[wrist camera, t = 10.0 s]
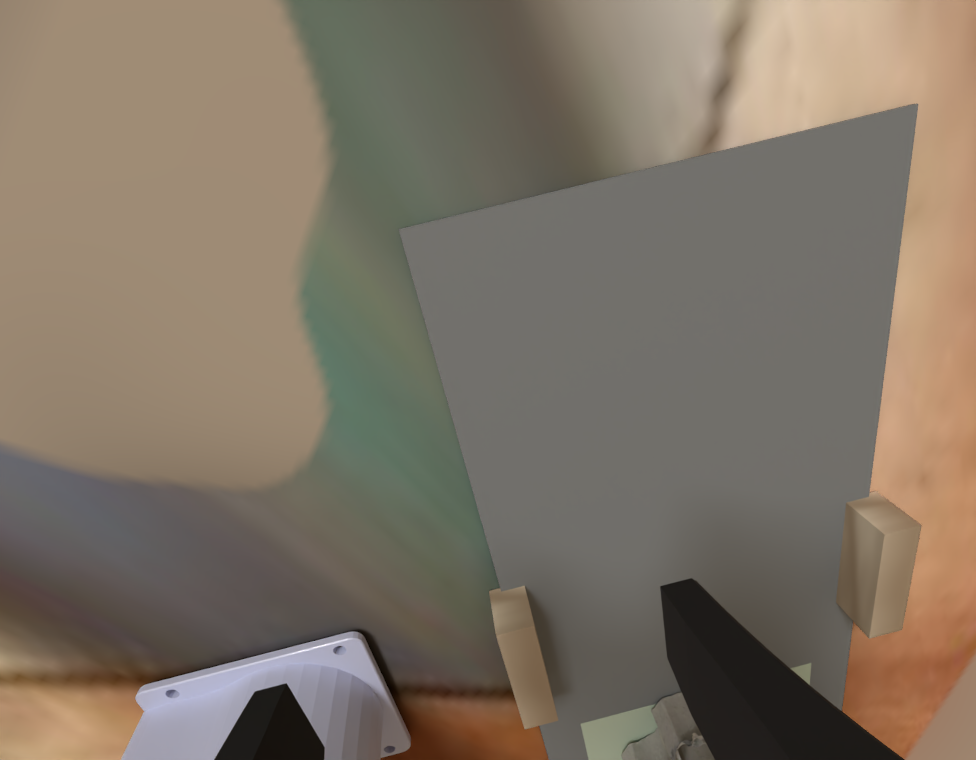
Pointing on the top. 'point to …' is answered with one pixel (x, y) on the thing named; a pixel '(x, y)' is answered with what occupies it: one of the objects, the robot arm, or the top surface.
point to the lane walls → (860, 593)
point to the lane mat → (673, 400)
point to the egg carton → (671, 735)
